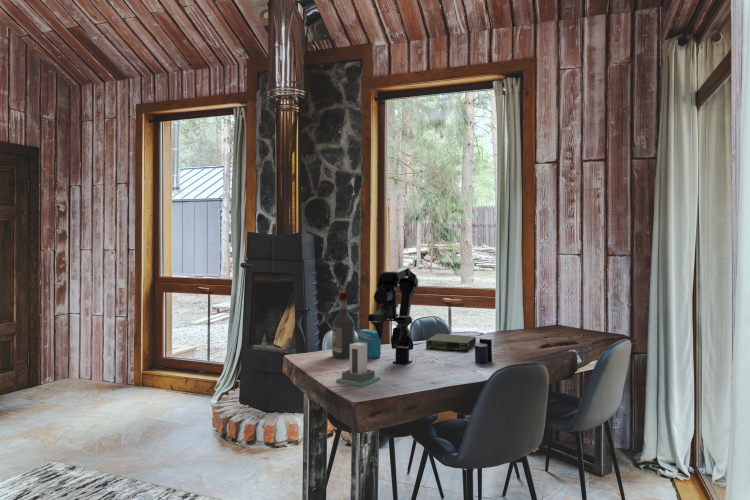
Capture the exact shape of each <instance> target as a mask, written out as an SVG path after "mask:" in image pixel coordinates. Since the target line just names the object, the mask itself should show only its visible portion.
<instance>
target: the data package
mask: <svg viewBox="0 0 750 500" xmlns="http://www.w3.org/2000/svg"><path fill="white" fill-rule="evenodd" d="M381 341H382V338H381V339H380V338H379V336H378V333H377V330H373V329H369V328H365V329H364V328H363V329H359V330H357V342H358V343H366V344H367V358H368V357H369V358H368V359H375V358H376V359H377V358H380V357H381V354H382V353H381V352H382V351H381V350H382V345H381V344H382V343H381Z"/></svg>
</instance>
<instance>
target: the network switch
mask: <svg viewBox="0 0 750 500" xmlns="http://www.w3.org/2000/svg"><path fill="white" fill-rule="evenodd" d="M475 343H477V338H476V336H473V335H460V334H450V333H436V334H435V335H433V336H431V337H430V338H428V339H427V340H426V341H425V345H426V346H425V347H426V349H427V350H429V349H434V350H436V349H437V350H444V351H446V350H448V351H451V350H452V351H460V352H463V351H464V352H465V353H467V352H468V351H469V350H470V349H471V348H473V347H475V345H474V344H475Z"/></svg>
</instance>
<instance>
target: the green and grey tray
mask: <svg viewBox="0 0 750 500" xmlns="http://www.w3.org/2000/svg"><path fill="white" fill-rule="evenodd" d="M375 372H376V371H375V370H373V369H368V368H367V373H365V374H362V375H358V374H352V373H350V369H348V370H345V371H343V372H341V377H339V378H336V383H341V384H345V385H351V386H356V387H357V386H358V387H365V386H368V385H370V384H372V383H375V382H377V381H379V380H381V376H378V375H376V373H375Z"/></svg>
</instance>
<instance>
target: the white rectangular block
mask: <svg viewBox="0 0 750 500" xmlns="http://www.w3.org/2000/svg"><path fill="white" fill-rule="evenodd" d="M367 369H368V357H367V344H366V343H358V341H357V342H355V343H353V344H350V358H349V370H350V373H352V374H358V375H362V374H365V373H367Z"/></svg>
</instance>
